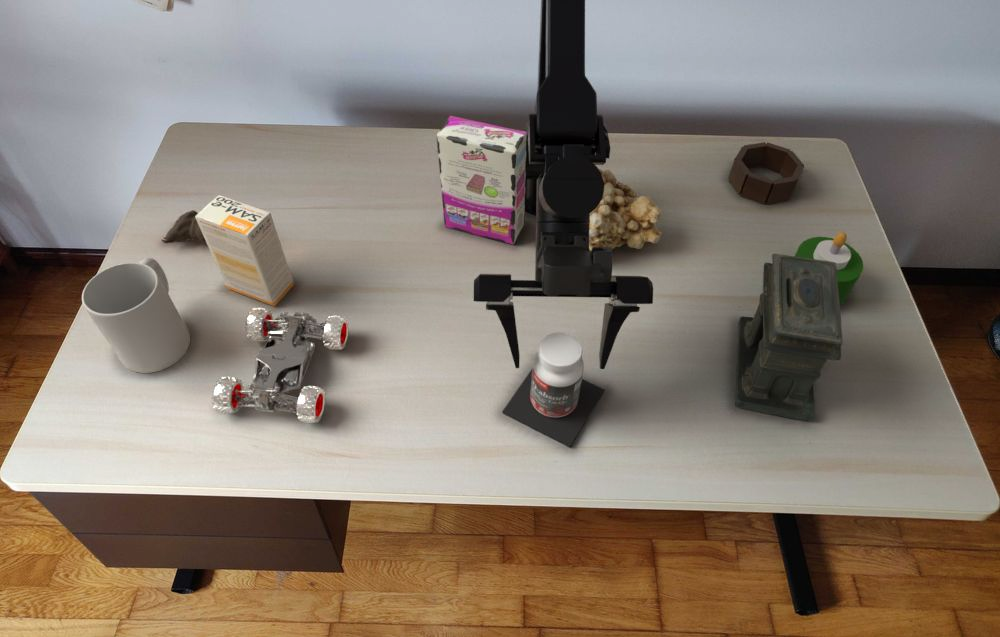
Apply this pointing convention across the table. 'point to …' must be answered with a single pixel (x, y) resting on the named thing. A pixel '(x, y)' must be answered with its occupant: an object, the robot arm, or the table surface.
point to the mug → (137, 315)
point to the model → (789, 337)
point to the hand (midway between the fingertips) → (559, 368)
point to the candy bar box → (482, 178)
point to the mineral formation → (622, 217)
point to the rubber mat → (554, 428)
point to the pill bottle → (557, 375)
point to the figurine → (185, 229)
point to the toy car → (282, 365)
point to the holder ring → (761, 186)
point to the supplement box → (246, 249)
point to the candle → (835, 259)
